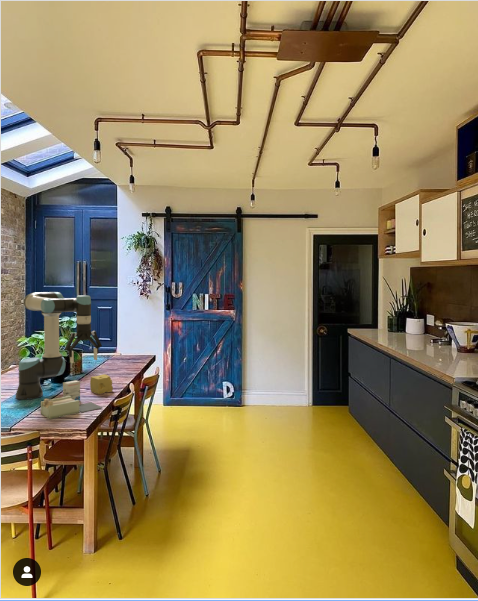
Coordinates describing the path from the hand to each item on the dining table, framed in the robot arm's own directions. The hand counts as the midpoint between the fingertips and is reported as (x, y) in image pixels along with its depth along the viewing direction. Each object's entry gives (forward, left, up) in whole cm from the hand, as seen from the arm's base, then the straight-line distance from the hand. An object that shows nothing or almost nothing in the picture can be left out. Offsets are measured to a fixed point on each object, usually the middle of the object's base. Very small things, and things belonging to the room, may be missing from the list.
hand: (83, 361), depth 231 cm
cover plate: (-4, -12, -23) cm, 26 cm away
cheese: (-30, +25, -28) cm, 48 cm away
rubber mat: (-4, +3, -28) cm, 28 cm away
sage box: (-4, -12, -28) cm, 30 cm away
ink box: (-22, +2, -28) cm, 36 cm away
